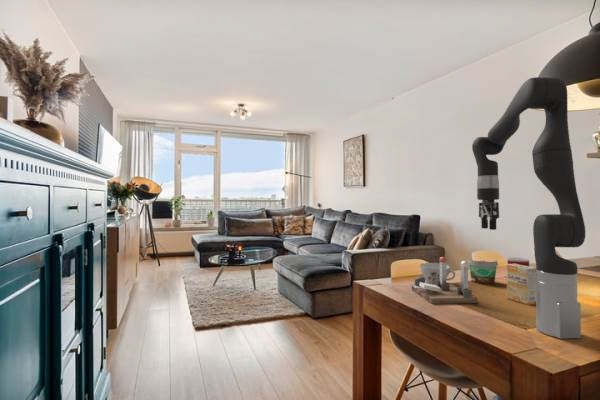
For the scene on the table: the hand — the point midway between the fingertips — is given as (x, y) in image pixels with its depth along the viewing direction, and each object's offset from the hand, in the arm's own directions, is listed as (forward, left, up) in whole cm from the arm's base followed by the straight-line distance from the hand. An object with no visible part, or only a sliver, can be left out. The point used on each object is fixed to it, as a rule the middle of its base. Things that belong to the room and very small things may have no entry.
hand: (488, 229), depth 130 cm
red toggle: (+3, +17, -23) cm, 29 cm away
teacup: (+19, +12, -26) cm, 34 cm away
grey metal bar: (-7, +14, -23) cm, 28 cm away
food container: (+18, -9, -26) cm, 33 cm away
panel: (0, +19, -26) cm, 32 cm away
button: (+7, +25, -24) cm, 35 cm away
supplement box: (-8, -7, -26) cm, 28 cm away
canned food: (+16, -23, -26) cm, 38 cm away
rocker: (-1, +24, -23) cm, 33 cm away
